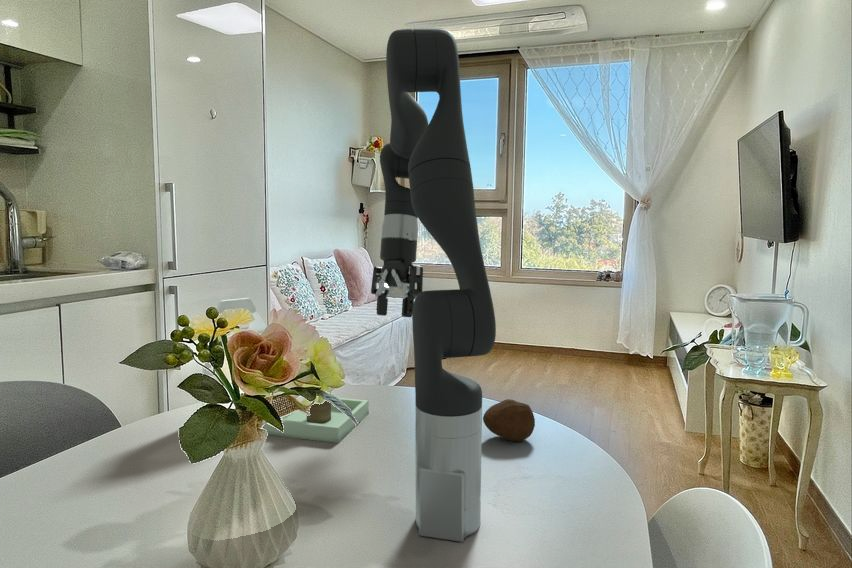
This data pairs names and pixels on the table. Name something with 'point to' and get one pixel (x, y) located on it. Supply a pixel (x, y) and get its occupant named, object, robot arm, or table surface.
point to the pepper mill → (320, 413)
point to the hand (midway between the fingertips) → (393, 316)
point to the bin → (326, 431)
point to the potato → (510, 420)
